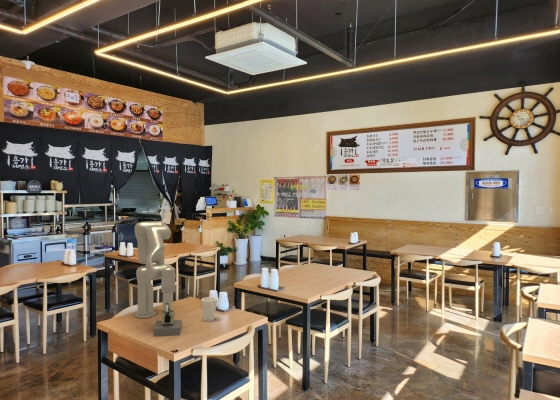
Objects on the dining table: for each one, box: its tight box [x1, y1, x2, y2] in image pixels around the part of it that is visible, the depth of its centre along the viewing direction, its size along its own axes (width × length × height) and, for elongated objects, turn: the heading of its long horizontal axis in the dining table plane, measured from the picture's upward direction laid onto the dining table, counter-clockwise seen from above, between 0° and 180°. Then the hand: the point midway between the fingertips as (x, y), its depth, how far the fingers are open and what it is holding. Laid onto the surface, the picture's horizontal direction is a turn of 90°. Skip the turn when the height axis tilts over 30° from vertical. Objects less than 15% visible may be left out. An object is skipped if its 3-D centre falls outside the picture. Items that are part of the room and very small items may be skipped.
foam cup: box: [201, 296, 218, 323], centre depth 246 cm, size 10×9×13 cm
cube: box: [161, 309, 175, 324], centre depth 225 cm, size 6×6×6 cm
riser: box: [153, 319, 182, 337], centre depth 225 cm, size 14×14×4 cm
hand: (168, 320), depth 225 cm, fingers closed on cube, 5 cm apart
